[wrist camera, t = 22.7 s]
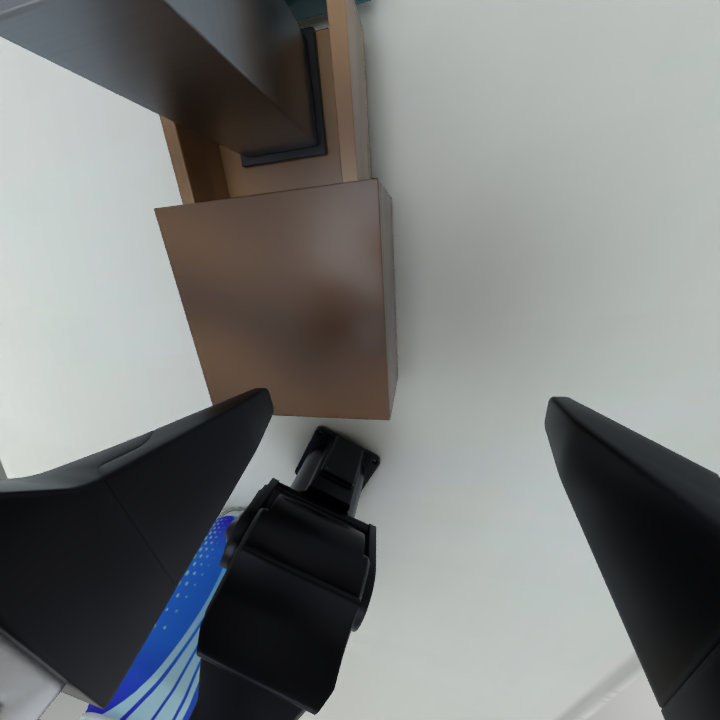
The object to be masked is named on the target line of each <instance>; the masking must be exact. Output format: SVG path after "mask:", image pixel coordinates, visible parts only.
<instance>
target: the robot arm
mask: <svg viewBox="0 0 720 720" xmlns="http://www.w3.org/2000/svg"><path fill="white" fill-rule="evenodd" d="M273 412H274V407H273V403H272V400H271V396H270V393H269V390H268V389H266V388H254V389H252V390H250V391H247V392H245V393H242V394H240V395H238V396H235V397H233V398H230V399H228V400H225V401H223V402H221V403H218V404H216V405H213V406H211V407H209V408H206V409H204V410H201V411H199V412H197V413H194V414H192V415H189V416H187V417H185V418H182V419H180V420H177V421H175V422H173V423H170V424H168V425H165V426H163V427H161V428H158V429H156V430H155V431H151V432H148V433H146V434H144V435H141V436H139V437H136V438H134V439H131V440H129V441H126V442H124V443H121V444H119V445H116V446H114V447H111V448H108V449H106V450H103V451H101V452H98V453H95V454H93V455H90V456H87V457H84V458H82V459H79V460H76V461H74V462H71V463H68V464H66V465H63V466H60V467H58V468H55V469H52V470H50V471H47V472H44V473H41V474H37V475H33V476H28V477H23V478H14V479H0V720H39V718H40V717H41V716H42V714H43V713H44V712H45V711H46V709H47V708H48V707H49V706H50V704H51V703H52V702H53V701H54V699H55V698H56V697H57V695H58V694H59V693H60V692H63V693H65V694H68V695H70V696H73V697H75V698H77V699H80V700H82V701H85V702H87V703H89V704H92V705H94V706H96V707H99V708H101V709H105V708H106V707H107V706H108V704H109V703H110V701H111V700H112V698H113V697H114V695H115V693H116V692H117V690H118V688H119V686H120V685H121V683H122V681H123V679H124V678H125V676H126V674H127V673H128V671H129V669H130V667H131V666H132V664H133V662H134V661H135V659H136V657H137V655H138V654H139V652H140V650H141V648H142V647H143V645H144V643H145V642H146V640H147V638H148V636H149V635H150V633H151V631H152V629H153V628H154V626H155V624H156V623H157V621H158V619H159V617H160V616H161V614H162V612H163V611H164V609H165V607H166V605H167V604H168V602H169V600H170V598H171V597H172V595H173V593H174V592H175V590H176V587H177V586H178V584H179V583H180V581H181V579H182V577H183V576H184V574H185V572H186V571H187V569H188V567H189V565H190V564H191V562H192V560H193V558H194V557H195V555H196V553H197V552H198V550H199V548H200V546H201V545H202V543H203V541H204V540H205V538H206V536H207V534H208V533H209V531H210V529H211V527H212V526H213V524H214V522H215V521H216V519H217V517H218V515H219V514H220V512H221V510H222V509H223V507H224V505H225V503H226V502H227V500H228V498H229V496H230V495H231V493H232V491H233V490H234V488H235V486H236V484H237V483H238V481H239V479H240V478H241V476H242V474H243V472H244V471H245V469H246V467H247V466H248V464H249V462H250V460H251V459H252V457H253V455H254V453H255V452H256V450H257V448H258V446H259V444H260V441H261V439H262V437H263V435H264V433H265V430H266V428H267V426H268V424H269V422H270V419H271V417H272V415H273ZM545 429H546V433H547V436H548V440H549V443H550V446H551V450H552V453H553V457H554V460H555V463H556V467H557V470H558V473H559V476H560V479H561V481H562V484H563V486H564V488H565V491H566V493H567V495H568V498H569V500H570V502H571V504H572V507H573V509H574V511H575V514H576V516H577V518H578V521H579V523H580V525H581V527H582V530H583V532H584V534H585V537H586V539H587V541H588V544H589V546H590V548H591V550H592V553H593V555H594V557H595V560H596V562H597V564H598V567H599V569H600V571H601V573H602V576H603V578H604V580H605V583H606V585H607V587H608V589H609V592H610V594H611V596H612V599H613V601H614V603H615V606H616V608H617V610H618V612H619V615H620V617H621V619H622V622H623V624H624V626H625V629H626V631H627V633H628V635H629V638H630V640H631V642H632V645H633V647H634V649H635V651H636V654H637V656H638V658H639V661H640V663H641V665H642V668H643V670H644V672H645V674H646V677H647V679H648V681H649V684H650V686H651V688H652V690H653V693H654V695H655V697H656V700H657V702H658V704H659V706H660V707H661V708H662V710H661V712H662V714H663V716H664V719H665V720H720V478H719V476H718V475H717V474H716V473H714V472H712V471H710V470H708V469H706V468H704V467H702V466H700V465H698V464H696V463H694V462H692V461H691V460H689V459H687V458H685V457H683V456H681V455H679V454H677V453H675V452H673V451H671V450H669V449H667V448H665V447H663V446H661V445H660V444H658V443H656V442H654V441H652V440H650V439H648V438H646V437H644V436H642V435H640V434H638V433H636V432H634V431H632V430H630V429H629V428H627V427H625V426H623V425H621V424H619V423H617V422H615V421H613V420H611V419H609V418H607V417H605V416H603V415H601V414H600V413H598V412H596V411H594V410H592V409H590V408H588V407H586V406H584V405H582V404H580V403H578V402H576V401H574V400H572V399H571V398H568V397H551V398H550V400H549V402H548V407H547V412H546V417H545ZM319 431H321V432H322V433H320V432H319ZM373 460H376V461H373ZM379 464H380V457H379V456H377V455H376V454H374V453H372V452H370V451H368V450H366V449H364V448H362V447H360V446H358V445H357V444H355V443H353V442H351V441H349V440H347V439H345V438H343V437H341V436H339V435H338V434H336V433H334V432H332V431H330V430H328V429H326V428H324V427H322V426H321V427H318V428H317V429H316V431H315V433H314V435H313V437H312V439H311V441H310V443H309V445H308V447H307V449H306V451H305V453H304V455H303V457H302V458H301V460H300V462H299V464H298V466H297V468H296V470H295V473H296V475H297V476H296V478H295V480H294V482H293V483H292V485H291V487H288V486H286V485H284V484H282V483H280V482H279V480H277V479H275V478H272V480H271V481H270V482H269V484H268V485H265V486H264V487H263V488H262V490H259V491H258V493H257V494H256V496H255V497H254V499H253V500H252V502H251V503H250V505H249V506H248V507H247V508H246V509H245V510H244V511H243V512H242V513H241V514H240V515H239V516H238V517H237V518H235V519H234V520H233V521H232V522H231V523H230V524H229V526H228V527H227V529H226V531H225V536H226V542H227V543H226V546H225V548H224V553H223V555H222V558H221V561H220V564H219V566H220V567H222V568H224V569H226V572H225V574H224V576H223V578H222V580H221V582H220V584H219V585H218V587H217V589H216V591H215V593H214V595H213V597H212V599H211V601H210V603H209V605H208V607H207V609H206V611H205V615H204V619H203V621H202V623H201V625H200V631H199V637H198V644H197V651H196V654H197V656H198V657H200V658H201V662H200V674H199V687H198V699H197V703H196V705H195V707H194V709H193V711H192V713H191V716H190V718H189V720H298V719H299V718H300V717H301V716H302V715H303V713H304V712H305V711H308V712H310V713H312V714H314V715H315V714H317V713H318V712H319V711H320V709H321V708H322V707H323V705H324V704H325V702H326V701H327V699H328V698H329V697H330V695H331V694H332V692H333V690H334V688H335V684H336V680H337V676H338V673H339V669H340V665H341V661H342V657H343V654H344V651H345V648H346V645H347V642H348V639H349V636H350V633H351V631H354V632H355V631H356V630H357V629H358V628H359V626H360V625H361V623H362V621H363V619H364V616H365V614H366V611H367V608H368V605H369V602H370V599H371V595H372V591H373V587H374V581H375V575H376V526H373V525H371V524H369V525H368V524H366V523H364V522H362V521H360V520H358V519H355V518H354V517H355V513H356V509H357V505H358V501H359V497H360V493H361V491H362V489H363V488H364V486H365V485H366V483H367V482H368V480H369V479H370V477H371V476H372V475H373V473H374V472H375V470H376V469H377V467H378V466H379Z"/></svg>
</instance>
